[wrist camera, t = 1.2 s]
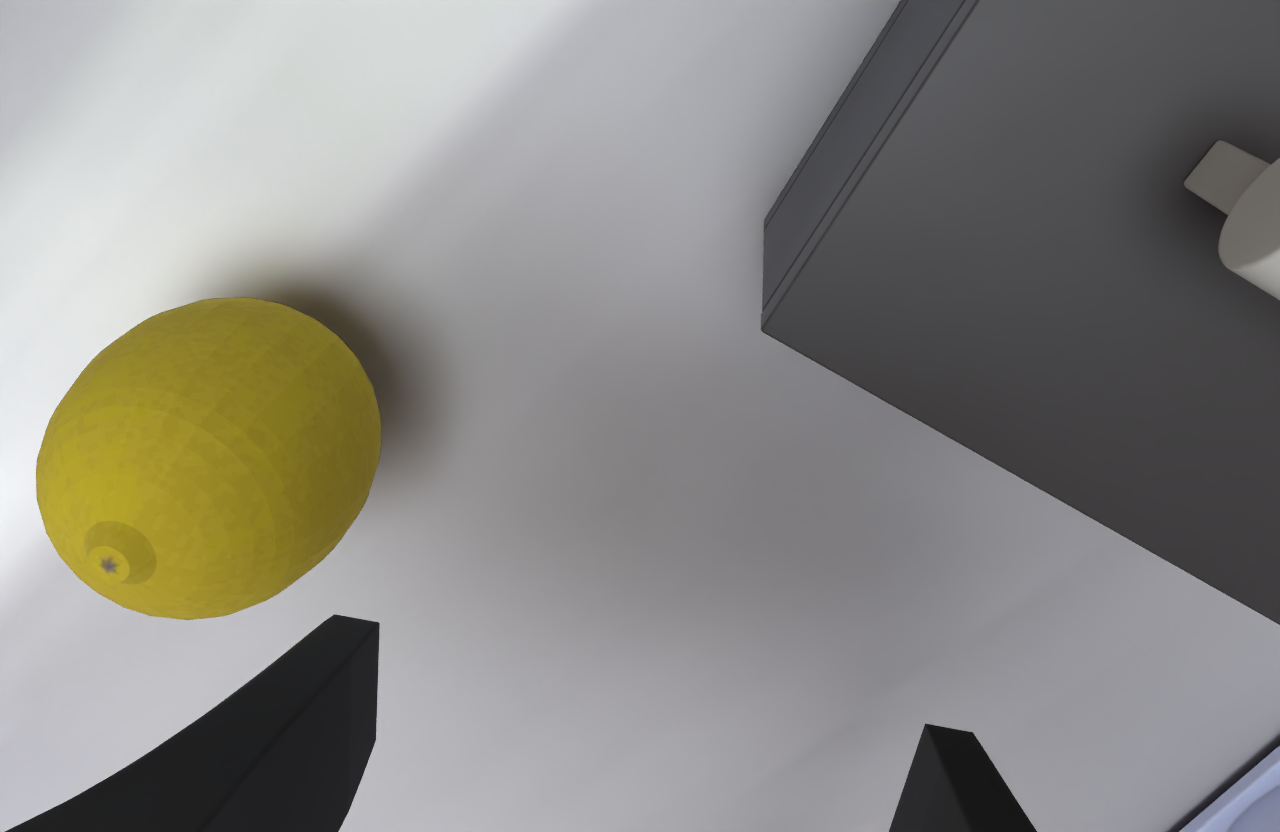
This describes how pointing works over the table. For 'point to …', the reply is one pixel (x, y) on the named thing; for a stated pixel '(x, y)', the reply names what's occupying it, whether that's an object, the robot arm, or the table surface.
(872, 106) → the dark grey square box
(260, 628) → the table surface
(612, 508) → the table surface
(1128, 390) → the dark grey box lid
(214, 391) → the lemon
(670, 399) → the table surface
